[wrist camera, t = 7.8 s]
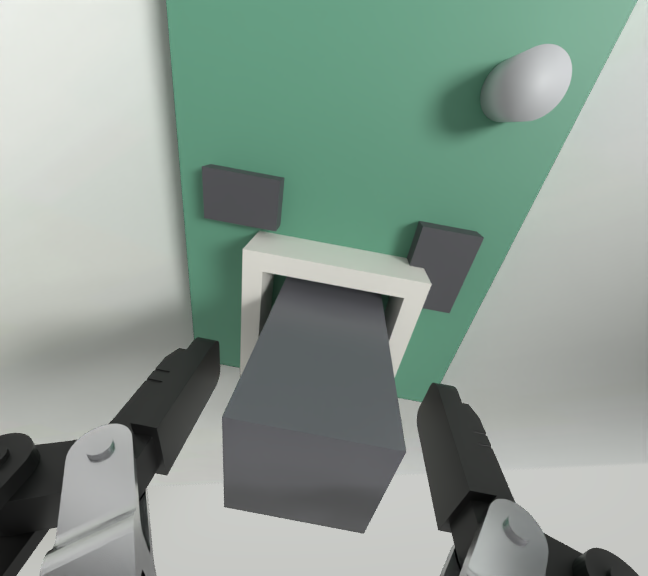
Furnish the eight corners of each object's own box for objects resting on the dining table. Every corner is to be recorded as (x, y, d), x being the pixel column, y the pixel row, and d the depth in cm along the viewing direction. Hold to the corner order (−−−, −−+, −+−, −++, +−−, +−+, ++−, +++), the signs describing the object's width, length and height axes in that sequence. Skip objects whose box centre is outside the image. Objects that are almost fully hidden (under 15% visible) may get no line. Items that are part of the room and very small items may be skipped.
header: (420, 260, 13) (433, 288, 10) (379, 376, 16) (382, 414, 14) (259, 230, 13) (239, 251, 11) (253, 352, 16) (237, 387, 14)
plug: (379, 283, 13) (406, 451, 6) (359, 353, 16) (362, 535, 9) (290, 267, 13) (222, 417, 6) (282, 338, 16) (224, 509, 9)
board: (798, -385, 6) (1093, -726, 4) (425, 387, 18) (436, 428, 16) (154, -501, 6) (24, -907, 4) (205, 346, 18) (181, 380, 16)
